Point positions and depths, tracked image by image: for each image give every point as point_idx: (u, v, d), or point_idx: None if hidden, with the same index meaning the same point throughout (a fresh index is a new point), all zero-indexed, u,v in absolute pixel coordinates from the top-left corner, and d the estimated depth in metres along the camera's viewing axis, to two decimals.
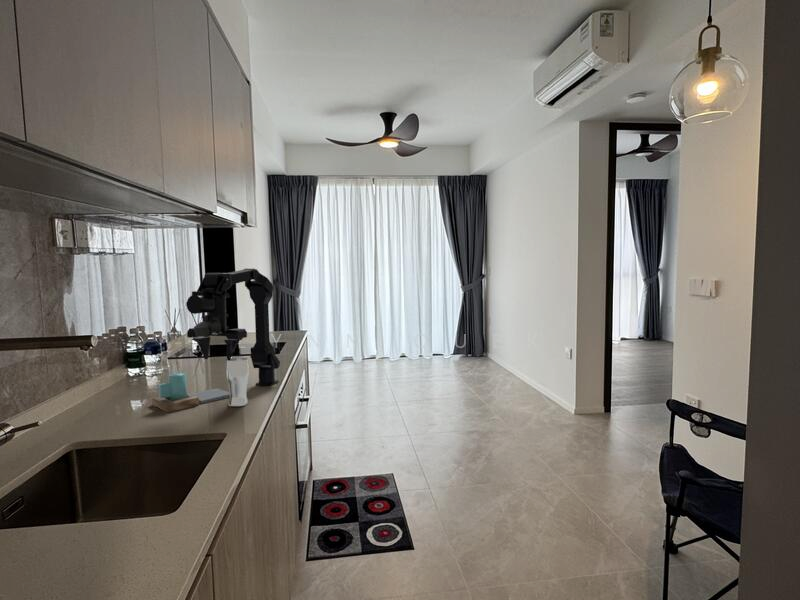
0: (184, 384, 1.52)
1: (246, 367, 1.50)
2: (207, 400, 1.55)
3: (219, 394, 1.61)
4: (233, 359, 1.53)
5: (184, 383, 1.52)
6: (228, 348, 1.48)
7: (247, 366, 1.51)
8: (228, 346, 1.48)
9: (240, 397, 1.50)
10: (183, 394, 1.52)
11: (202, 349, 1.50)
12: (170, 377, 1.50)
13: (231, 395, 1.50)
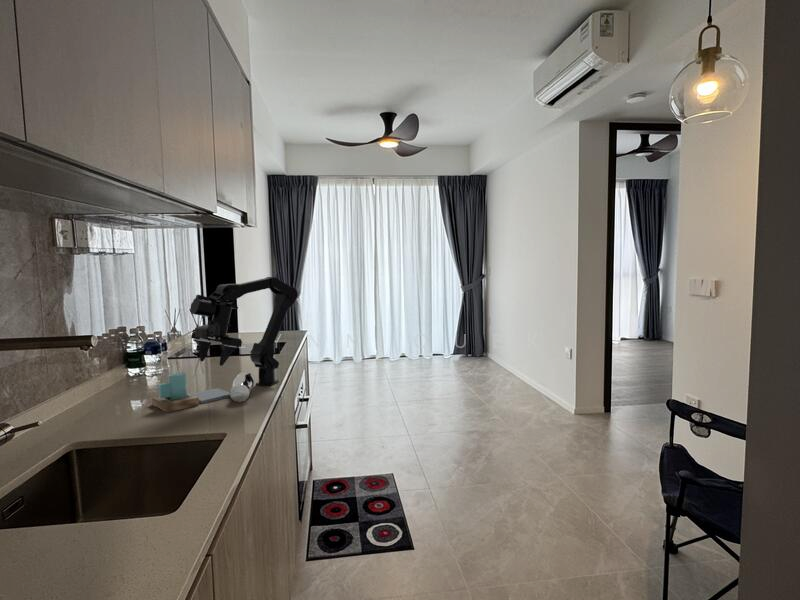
0: (184, 384, 1.52)
1: (252, 377, 1.67)
2: (207, 400, 1.55)
3: (219, 394, 1.61)
4: None
5: (184, 383, 1.52)
6: (222, 354, 1.58)
7: (253, 379, 1.67)
8: (222, 352, 1.58)
9: (243, 383, 1.57)
10: (183, 394, 1.52)
11: (200, 351, 1.63)
12: (170, 377, 1.50)
13: (235, 384, 1.57)
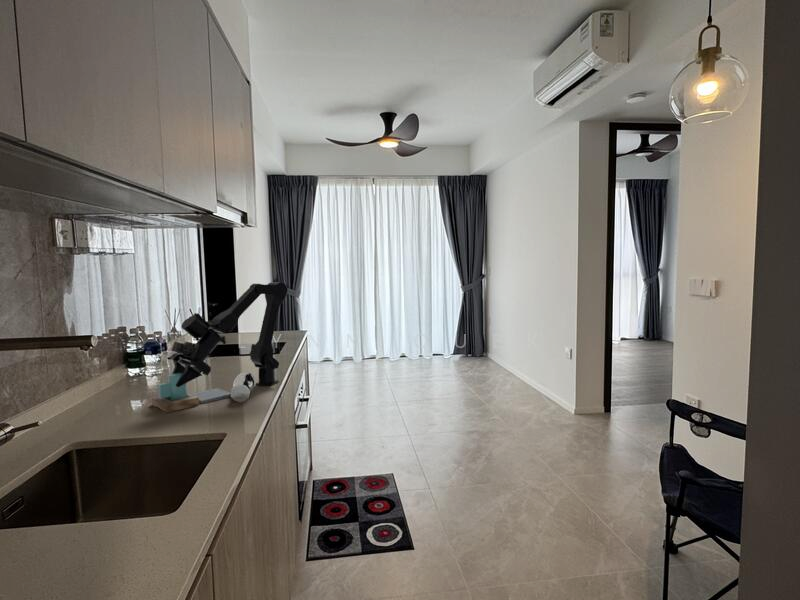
0: (184, 384, 1.52)
1: (253, 378, 1.67)
2: (207, 400, 1.55)
3: (219, 394, 1.61)
4: None
5: None
6: (183, 374, 1.50)
7: (253, 379, 1.67)
8: (184, 372, 1.51)
9: (244, 383, 1.57)
10: (183, 394, 1.52)
11: None
12: (170, 377, 1.50)
13: (236, 384, 1.57)
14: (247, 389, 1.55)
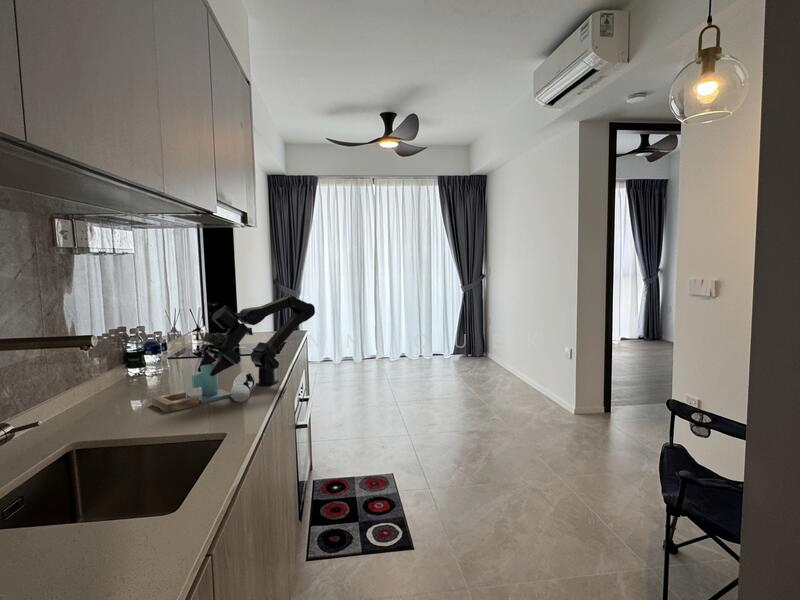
0: (215, 375, 1.60)
1: (253, 378, 1.67)
2: (207, 400, 1.55)
3: (219, 394, 1.61)
4: None
5: (216, 374, 1.60)
6: (217, 363, 1.57)
7: (253, 379, 1.67)
8: (218, 362, 1.57)
9: (244, 383, 1.57)
10: (215, 384, 1.60)
11: (201, 361, 1.64)
12: (202, 368, 1.58)
13: (236, 384, 1.57)
14: (247, 389, 1.55)
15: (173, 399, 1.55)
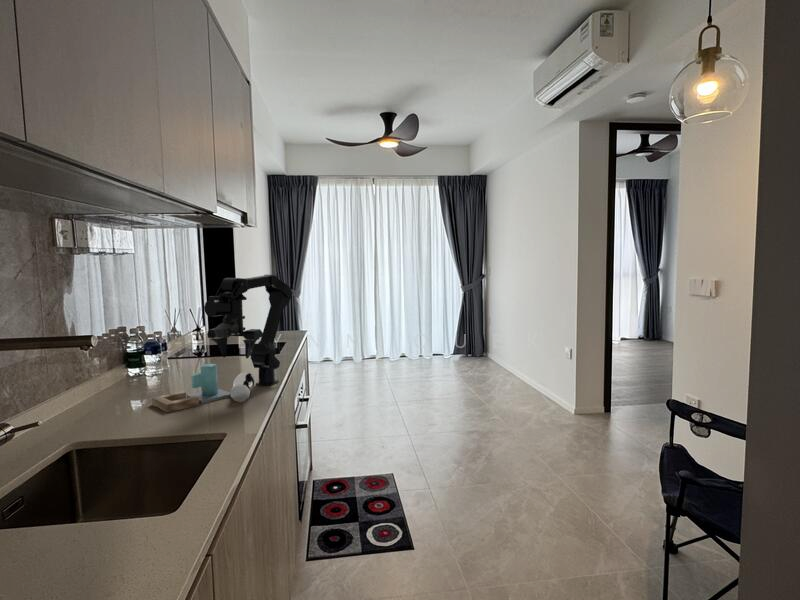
0: (215, 375, 1.60)
1: (253, 378, 1.67)
2: (207, 400, 1.55)
3: (219, 394, 1.61)
4: None
5: (215, 374, 1.60)
6: (247, 347, 1.61)
7: (253, 379, 1.67)
8: (247, 345, 1.60)
9: (244, 383, 1.57)
10: (214, 384, 1.60)
11: (220, 348, 1.64)
12: (202, 368, 1.58)
13: (236, 384, 1.57)
14: (247, 389, 1.55)
15: (173, 399, 1.55)
